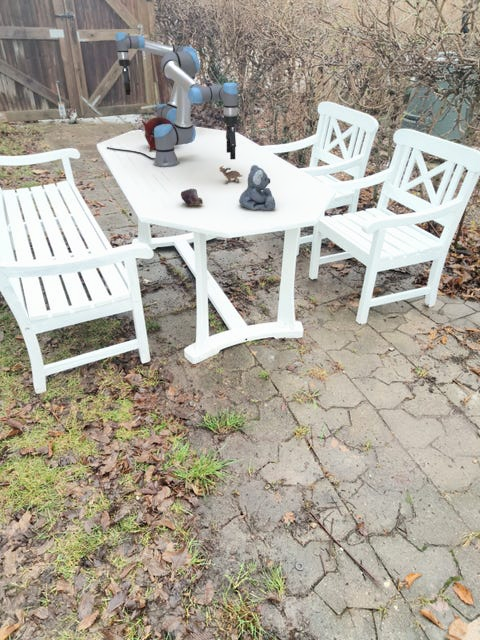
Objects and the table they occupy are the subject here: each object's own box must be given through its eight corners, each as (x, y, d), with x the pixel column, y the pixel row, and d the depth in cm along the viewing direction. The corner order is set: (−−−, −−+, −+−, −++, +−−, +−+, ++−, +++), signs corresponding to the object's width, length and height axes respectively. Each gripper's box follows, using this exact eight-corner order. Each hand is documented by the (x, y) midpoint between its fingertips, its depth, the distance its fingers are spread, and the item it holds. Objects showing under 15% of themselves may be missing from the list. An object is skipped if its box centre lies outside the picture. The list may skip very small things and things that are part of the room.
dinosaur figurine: (220, 184, 259) (220, 167, 253) (219, 181, 264) (219, 165, 258) (244, 183, 260) (244, 166, 255) (242, 179, 265) (242, 163, 260)
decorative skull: (144, 123, 333) (138, 119, 309) (175, 116, 332) (171, 112, 308) (152, 153, 340) (146, 152, 316) (182, 146, 339) (179, 144, 315)
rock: (196, 202, 238) (178, 205, 233) (194, 185, 234) (176, 188, 230) (205, 205, 228) (187, 208, 224) (203, 188, 224) (185, 191, 220)
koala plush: (276, 211, 223) (277, 171, 212) (240, 212, 222) (240, 172, 211) (271, 199, 237) (272, 161, 226) (237, 200, 236) (237, 162, 225)
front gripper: (241, 120, 232) (241, 161, 244) (233, 110, 252) (233, 149, 264) (227, 120, 231) (227, 162, 243) (220, 110, 251) (221, 150, 263)
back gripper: (129, 60, 299) (133, 95, 311) (130, 57, 320) (134, 90, 332) (117, 60, 298) (122, 96, 310) (119, 57, 319) (123, 91, 331)
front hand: (230, 155), depth 254 cm, fingers open, 13 cm apart
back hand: (128, 93), depth 321 cm, fingers open, 13 cm apart
